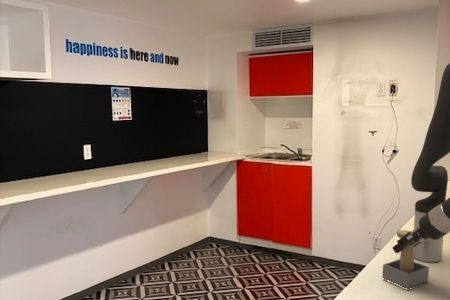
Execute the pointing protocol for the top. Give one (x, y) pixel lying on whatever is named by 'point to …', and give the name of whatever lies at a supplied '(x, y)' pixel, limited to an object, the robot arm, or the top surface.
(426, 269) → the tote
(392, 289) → the top surface
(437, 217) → the robot arm
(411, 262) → the handle
